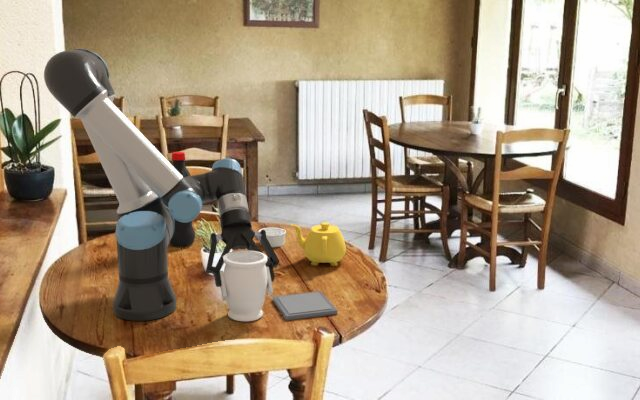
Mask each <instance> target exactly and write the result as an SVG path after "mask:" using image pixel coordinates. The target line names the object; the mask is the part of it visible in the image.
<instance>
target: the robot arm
mask: <svg viewBox="0 0 640 400" xmlns="http://www.w3.org/2000/svg"><path fill="white" fill-rule="evenodd" d="M109 72H110V71H109V68H108V65H107V63H106V62H105V60H104V59H103V58H102V57H101V56H100V55H99V54H97V53H96V52H94V51H92V50H89V49H85V48H75V49H71V50H62V51H60V52H58V53H55V54H54V55H52V56H51V57H50V58H49V60H48V61H47V63H46V65H45V67H44V71H43V78H44V82H45V86H46V88H47V90H48V91H49V93H50V94H51V96H53V98H54V99H55V100H57V102H58V103H59V104H61V105H62V106H63V107H64V108H65V110H67V111H68V112H69V114H71V116H73V117H74V119H76V120H77V119H78V120H81V122H82V125H83V128H84V130H85V131H86V134H87V135H88V138H89V140H90V143H91V145H92V146H93V149H94V151H95V153H96V155H97V158H98V160H99V162H100V164H101V166H102V169H103V172H104V173H105V175H106V177H107V179H108V182H109V184H110V186H111V187H112V190H113V192H114V194H115V196H116V199H117V201H118V207H117V210H116V214H117V216H118V218H119V219H117V221H116V226H115V231H114V232H115V233H114V234H115V239H116V249H117V251H116V252H117V267H118V268H117V269H118V285H117V288H116V290H115V291H116V292H115V295H114V299H113V304H112V306H113V314H114V315H115V316H116V317H117V318H119V319H122V320H126V321H132V322H142V321H143V322H144V321H145V322H146V321H151V320H152V321H153V320H157V319H161V318H164V317H167V316H168V315H171V314H173V312H175V311H176V309H177V304H178V303H177V295H176V293H175V291H174V289H173V285H172V283H171V281H170V278H169V270H168V268H169V267H168V266H169V264H168V262H169V261H168V247H169V245H170V240H171V238H172V236H173V233H174V229H175V225H174V224H175V222H174V219H175V220H177V221H179V222H190V221H192V222H193V221H194V220H196V219H197V218H198V216H199V215H200V213H201V212H202V209H203V204H205V203H209V202H214V201H216V202H217V209H218V210H217V211H218V216H219V221H220V222H219V224H220V227H221V233H218V234H216V233H214V232H212V233H211V234H210V238H209V243H210V248H209V249H210V250H209V253H208V259H207V262H206V268H205V273H206V274H212V275H213V276H214V282H215V287H217V288H220V294H221V301H223V302H224V301H226V298H227V292H226V286H225V279H224V270H222V268H223V266H224V264H225V263H224V261H223V256H224V255H225V254H227V253H229V252H231V250H232V251H238V250H251V251H258V252H261V253H264V254H265V255H267V259H268V260H267V262H266V264H265V265H266V269H267V277H268V282H267V290H266V293H267V296H268V297H272V295H273V294H274V289H273V282H274V281H275V277H276V276H275V272H274V268H275V269H276V268H278V266H279V263H280V259H279V258H278V256H277V254H276V253H275V250H274V247H271V245H270V243H269V241H268V239H267V238H266V231H265V230H261V232H258V231H255V230H254V229H253V227H252V220H251V215H250V212H249V211H250V209H249V205H248V201H247V194H246V193H247V192H246V186H245V182H244V175H243V173H242V172H243V171H242V168H241V164H240V163H239V161H237V160H236V159H233V158H228V157H227V158H221V159H219V160H218V161H215V162H214V163H213V165H211V166H212V167H211V170H210V171H207V172H203V173H197V174H193V175H192V174H191V176H187V177H183V176H182V175H181V174H180V173H179V172H178V171H177V169H176V168H175V167H174V166H173V163H171V162H170V161H169V160H168V159H167V158H166V156H164V155H163V154H162V152H160V150H158V148H157V147H156V146H155V145H154V144H153V143H152V142H151V141H150V140H149V139H148V138H147V137H146V136H145V135H144V134H143V132H141V131H140V129H139V128H138V127H136V125H135V124H134V123H133V122H132V121H131V120H130V119H129V118H128V116H126V115H125V114H124V113H123V112H122V111H121V110H120V109H119V108H118V107H117V105H115V103H114V100H115V97H116V93H115V91H114V88H113V86H112V83H111V82H110V73H109ZM167 206H168V208H167ZM254 238H256V239H257V241H259V244H260V243H261V244H260V245H261V247H262V249H263V251H264V252H263V251H262V250H261V249H260V248H259V247H258V245H257V244H256V242H255V241H254ZM220 241H222V242H223V243H224V244H225V247H224V249H223V251H222V253H221V255H220V257H219V259H218V261H217V263H216V264H215V266H213V265H214V259H215V255H216V254H215V253H216V249H217V244H219V243H220ZM226 302H227V301H226Z"/></svg>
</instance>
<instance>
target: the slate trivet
mask: <svg viewBox="0 0 640 400" xmlns="http://www.w3.org/2000/svg"><path fill="white" fill-rule="evenodd" d="M272 301H273V303H274V304H275V306H276V307H277V308H278V310H279V312H280V313H281V315H282V316H283V318H284V320H285V321H291V320H300V319H301V320H302V319H308V318H317V317H324V316H331V315H333V316H334V315H338V309H337V308H336V307H335V306H334V304H333V303H332V302H331V301H330V300H329V298H327V296H326V295H325V294H324V293H323V292H322V291H321V290H319V291H310V292H300V293H291V294H284V295H275V296H272Z"/></svg>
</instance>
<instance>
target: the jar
mask: <svg viewBox="0 0 640 400" xmlns="http://www.w3.org/2000/svg"><path fill="white" fill-rule="evenodd" d="M267 258H268V256H267V254H266V253H265V252H263V253H261V252H258V251H251V250H247V249H239V250H232V251H230V252H229V253H227V254H225V255H224V256H223V261H224V264H225V265H224V268H223V273H224V279H225V286H226V292H227V298H226V304H227V306H228V308H229V310H228V312H227V316H228V317H229V318H230V319H231V320H233V321H238V322H253V321H257V320H259V319H260V318H262V317H263V315H264V311H263V310H262V309H263V306H264V304H265V300H266V297H267V296H266V295H267V294H266V293H267V282H268V277H267V269H266V265H265V264H266V262H267V260H268V259H269V258H268V259H267Z"/></svg>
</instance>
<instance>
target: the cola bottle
mask: <svg viewBox="0 0 640 400" xmlns="http://www.w3.org/2000/svg"><path fill="white" fill-rule="evenodd" d="M171 161H172V165H173V166H174V167H175V168H176V169H177V171H178V172H179V173H180V174H181V175H182V176H183V177H187V176H192V174H191V172H189V169H188V168H187V167H186V163H185V161H186V153H185V152H184V151H173V152H172V154H171ZM166 207H167V208H168V206H167V205H166ZM174 222H175V224H174V225H175V229H174V233H173V236H172V238H171V240H170V242H169V245H171V246H173V247H174V248H186V247H190V246H191V245H193V243H194V242H195V238H196V232H195V229H194V226H193V220H192V221H190V222H179V221H177V220H175V219H174Z"/></svg>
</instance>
